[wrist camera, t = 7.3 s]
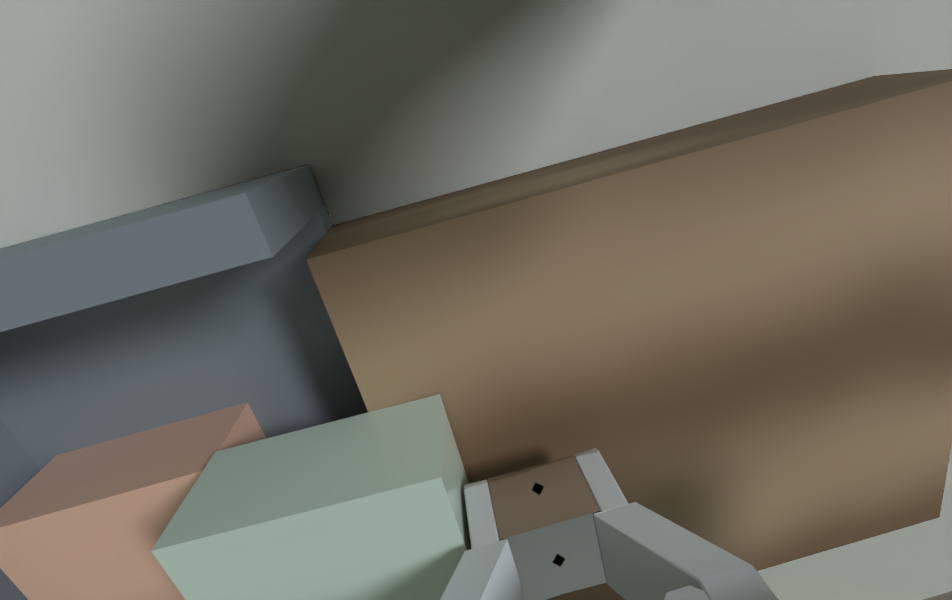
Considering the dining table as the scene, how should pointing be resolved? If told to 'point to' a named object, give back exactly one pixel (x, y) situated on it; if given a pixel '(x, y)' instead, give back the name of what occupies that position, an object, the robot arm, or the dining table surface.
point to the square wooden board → (690, 317)
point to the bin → (168, 325)
